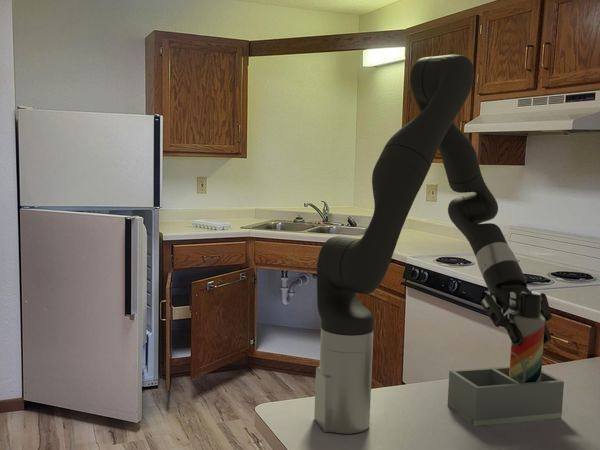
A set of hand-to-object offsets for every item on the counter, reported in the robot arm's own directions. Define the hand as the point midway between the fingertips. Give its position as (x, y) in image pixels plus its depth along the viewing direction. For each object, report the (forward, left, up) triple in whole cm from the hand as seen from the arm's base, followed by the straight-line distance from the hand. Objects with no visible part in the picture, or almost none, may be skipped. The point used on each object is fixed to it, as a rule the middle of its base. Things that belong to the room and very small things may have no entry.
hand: (533, 343), depth 111 cm
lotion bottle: (0, +2, -11) cm, 11 cm away
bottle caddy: (-4, +2, -14) cm, 14 cm away
